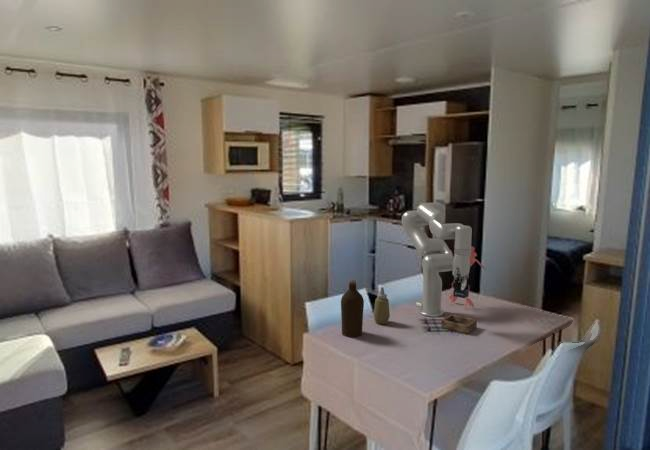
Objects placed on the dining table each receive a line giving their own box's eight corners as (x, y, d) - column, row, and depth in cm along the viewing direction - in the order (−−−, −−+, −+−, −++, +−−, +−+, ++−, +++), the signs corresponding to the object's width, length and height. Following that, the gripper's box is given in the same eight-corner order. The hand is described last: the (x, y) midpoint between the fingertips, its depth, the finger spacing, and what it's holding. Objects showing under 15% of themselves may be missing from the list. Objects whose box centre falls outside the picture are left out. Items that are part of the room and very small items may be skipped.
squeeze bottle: (371, 324, 222) (372, 288, 219) (375, 318, 229) (376, 284, 226) (387, 326, 218) (388, 290, 216) (391, 321, 226) (392, 286, 223)
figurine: (477, 313, 238) (481, 248, 233) (437, 301, 258) (440, 241, 253) (493, 308, 247) (497, 245, 243) (453, 297, 267) (456, 239, 263)
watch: (451, 297, 213) (452, 274, 211) (458, 293, 219) (459, 271, 217) (462, 299, 209) (463, 276, 208) (470, 295, 215) (471, 273, 214)
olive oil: (365, 337, 205) (366, 283, 202) (343, 338, 203) (343, 284, 200) (360, 328, 215) (360, 277, 212) (338, 330, 214) (338, 278, 210)
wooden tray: (441, 328, 216) (441, 320, 216) (450, 322, 225) (451, 314, 224) (467, 334, 208) (468, 326, 208) (476, 328, 217) (476, 320, 216)
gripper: (462, 248, 220) (460, 283, 222) (447, 253, 207) (445, 290, 209) (477, 250, 215) (475, 285, 218) (463, 255, 202) (461, 293, 204)
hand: (461, 288), depth 213 cm, fingers closed on watch, 8 cm apart
